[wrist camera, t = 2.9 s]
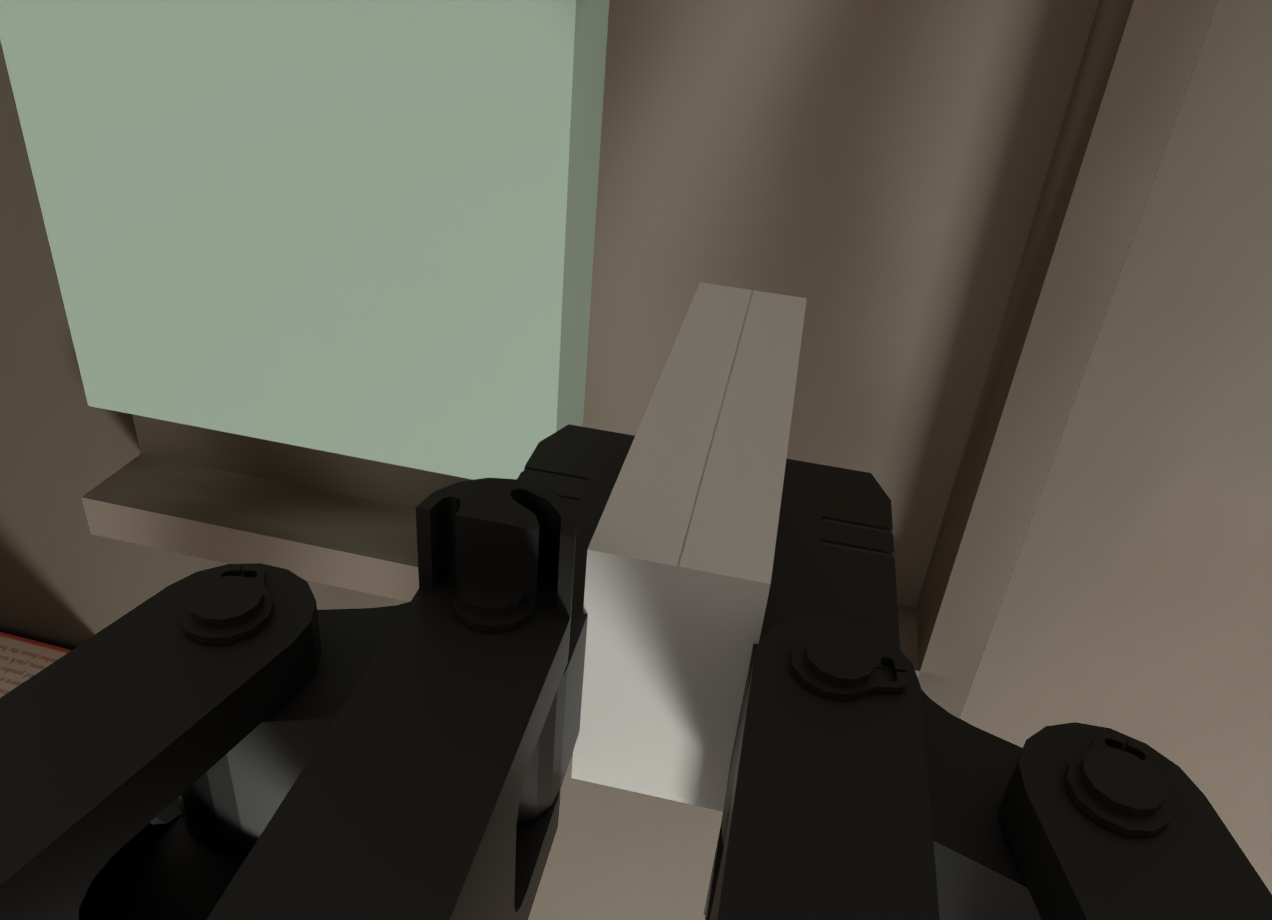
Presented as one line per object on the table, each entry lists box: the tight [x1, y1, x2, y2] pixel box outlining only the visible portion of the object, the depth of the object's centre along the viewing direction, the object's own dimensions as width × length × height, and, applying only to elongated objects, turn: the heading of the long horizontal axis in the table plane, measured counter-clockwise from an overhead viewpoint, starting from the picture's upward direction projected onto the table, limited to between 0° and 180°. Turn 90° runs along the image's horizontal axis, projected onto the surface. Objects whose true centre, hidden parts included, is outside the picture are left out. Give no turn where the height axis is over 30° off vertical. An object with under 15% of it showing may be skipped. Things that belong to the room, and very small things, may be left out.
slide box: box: [82, 0, 1218, 718], centre depth 20 cm, size 23×20×3 cm
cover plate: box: [0, 0, 609, 480], centre depth 21 cm, size 12×12×2 cm
